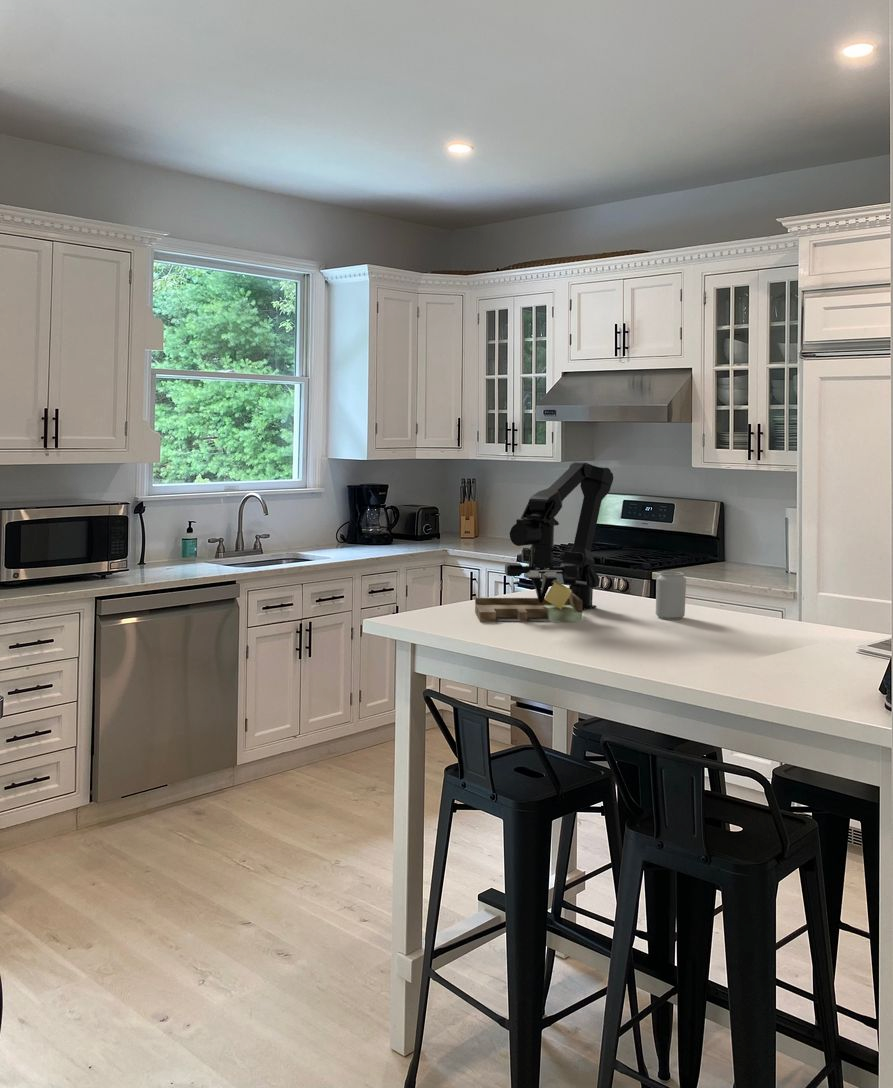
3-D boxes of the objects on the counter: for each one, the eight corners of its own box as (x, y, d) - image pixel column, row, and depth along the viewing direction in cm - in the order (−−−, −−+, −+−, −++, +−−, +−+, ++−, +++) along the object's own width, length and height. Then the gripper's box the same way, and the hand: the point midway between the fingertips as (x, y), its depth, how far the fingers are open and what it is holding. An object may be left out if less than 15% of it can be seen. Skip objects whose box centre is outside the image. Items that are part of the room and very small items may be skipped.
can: (682, 615, 260) (684, 570, 259) (686, 620, 253) (688, 574, 251) (653, 614, 261) (655, 570, 260) (657, 619, 254) (658, 574, 252)
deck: (571, 612, 261) (572, 592, 261) (581, 622, 249) (582, 600, 248) (475, 612, 260) (475, 592, 259) (480, 621, 247) (480, 600, 246)
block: (562, 606, 257) (571, 590, 256) (561, 609, 252) (571, 593, 251) (545, 596, 257) (555, 580, 256) (544, 599, 252) (554, 583, 251)
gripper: (572, 540, 263) (570, 597, 265) (502, 539, 262) (501, 597, 263) (580, 545, 252) (578, 605, 253) (508, 544, 251) (506, 604, 252)
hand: (540, 602), depth 256 cm, fingers closed
